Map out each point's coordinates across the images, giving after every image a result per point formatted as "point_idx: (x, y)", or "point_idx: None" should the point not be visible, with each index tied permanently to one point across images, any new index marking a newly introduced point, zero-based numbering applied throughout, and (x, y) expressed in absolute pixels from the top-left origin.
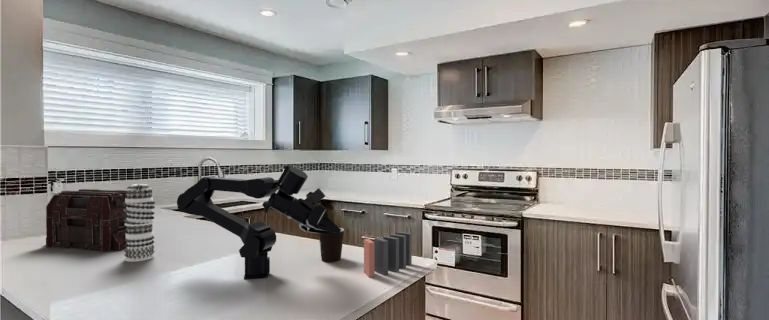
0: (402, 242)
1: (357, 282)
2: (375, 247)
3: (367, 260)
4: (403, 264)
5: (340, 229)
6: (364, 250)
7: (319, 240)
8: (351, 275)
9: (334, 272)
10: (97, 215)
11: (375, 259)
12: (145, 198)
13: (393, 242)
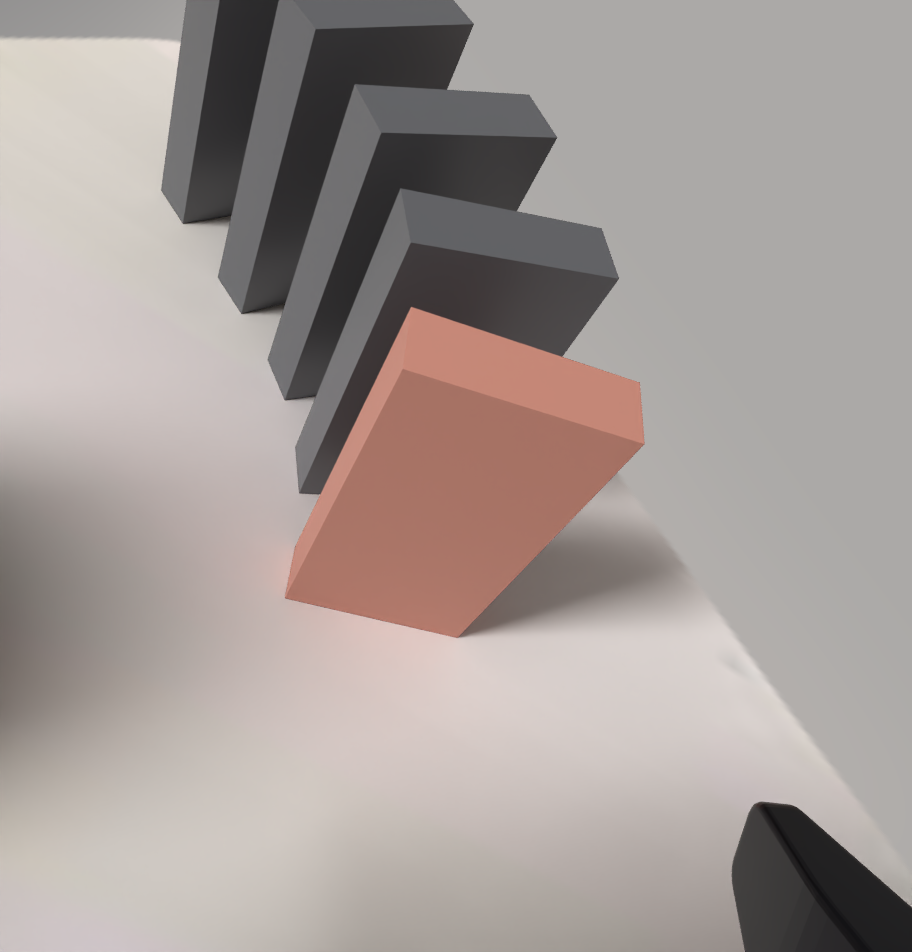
0: (435, 85)
1: (544, 811)
2: (396, 331)
3: (464, 551)
4: None
5: (800, 817)
6: (378, 471)
7: None
8: (309, 767)
9: (66, 928)
10: None
11: (352, 422)
12: None
13: (509, 173)
